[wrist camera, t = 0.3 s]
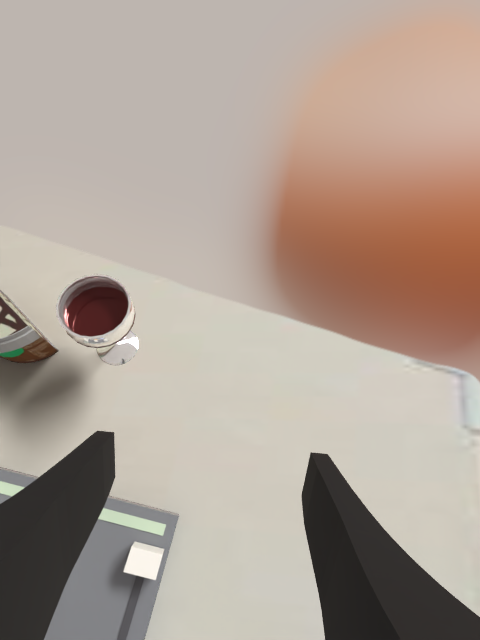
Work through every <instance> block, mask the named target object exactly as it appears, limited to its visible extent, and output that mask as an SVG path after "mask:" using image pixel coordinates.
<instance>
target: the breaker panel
mask: <svg viewBox="0 0 480 640" xmlns="http://www.w3.org/2000/svg"><path fill="white" fill-rule="evenodd" d="M37 478H39V477H36V476H32V475H28V474H24V473H21V472H17V471H13V470H9V469H6V468H2V467H0V504H1V503H3V502H4V501H6V500H7V499H9V498H10V497H12V496H13V495H15V494H16V493H18V492H19V491H21V490H22V489H24V488H25V487H26V486H28V485H29V484H31V483H32V482H33V481H35V480H36V479H37ZM178 517H179V514H176V513H172V512H168V511H165V510H161V509H157V508H153V507H149V506H146V505H142V504H138V503H134V502H130V501H127V500H123V499H119V498H115V497H112V496H108V498H107V501H106V503H105V506H104V508H103V510H102V512H101V514H100V516H99V518H98V520H97V522H96V524H95V526H94V528H93V530H92V532H91V534H90V536H89V538H88V540H87V542H86V544H85V546H84V548H83V550H82V552H81V554H80V556H79V558H78V560H77V562H76V564H75V566H74V568H73V570H72V572H71V574H70V576H69V578H68V581H67V583H66V585H65V587H64V590H63V592H62V595H61V597H60V600H59V602H58V605H57V607H56V610H55V612H54V615H53V617H52V620H51V622H50V625H49V628H48V630H47V633H46V635H45V638H44V640H144V639H145V636H146V632H147V629H148V625H149V621H150V618H151V614H152V611H153V607H154V603H155V600H156V596H157V593H158V589H159V585H160V582H161V578H162V575H163V571H164V567H165V564H166V560H167V557H168V553H169V549H170V546H171V542H172V539H173V535H174V531H175V528H176V524H177V521H178ZM135 541H136V542H140V543H143V544H147V545H151V546H155V547H159V548H163V549H164V552H163V556H162V559H161V563H160V566H159V570H158V573H157V577H156V580H152V579H149V578H145V577H141V576H137V575H133V574H129V573H125V572H123V571H124V568H125V565H126V562H127V559H128V556H129V553H130V549H131V546H132V545H133V544H134V542H135Z"/></svg>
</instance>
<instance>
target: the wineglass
mask: <svg viewBox="0 0 480 640" xmlns="http://www.w3.org/2000/svg"><path fill="white" fill-rule="evenodd" d="M56 315H57V318H58V320H59V322H60V324H61V326H62V327H63V328H64V329H65V330H66V332H67V334H68V335H69V336H70V337H72V338H73V339H74V340H75V341H76V342H77V343H80V344H82V345H84V346H87V347H94V348H97V352H98V354H99V356H100V358H101V359H102V360H103V361H104V362H106V363H109V364H112V365H120V364H124V363H126V362H128V361H130V360H131V359H132V358H133V357H134V356H135V354H136V352H137V350H138V339H137V337H136V335H135V334H134V333H133V332H132V331H131V328H132V326H133V324H134V319H135V310H134V305H133V302H132V300H131V298H130V294H129V293H128V291H127V289H126V287H125V286H124V285H123V284H122V283H121V282H119V281H118V280H117V279H115V278H112V277H110V276H108V275H100V274H93V275H86V276H83V277H81V278H78V279H76V280H74V281H73V282H71V283H70V284H69V285H67V286H66V287H65V288H64V290H63V291H62V292H61V294H60V295H59V298H58V301H57V304H56Z"/></svg>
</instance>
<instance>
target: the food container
mask: <svg viewBox="0 0 480 640" xmlns="http://www.w3.org/2000/svg"><path fill="white" fill-rule="evenodd" d="M57 351H58V350H57V349H56V348H55V347H54V346H53V345H52V343H51V342H50V341H49V340H48V339H47V338H46V337H45V336H44V335H43V334H42V333H41V332H40V331H39V329H38V328H37V327H36V326H35V325H34V324H33V323H32V322H31V321H30V320H29V319H28V318H27V317H26V316H25V314H24V313H23V312H22V311H21V310H20V309H19V308H18V307H17V306H16V305H15V304H14V303H13V302H12V301H11V300H10V299H9V298H8V297H7V296H6V295H5V294H4V293H3V292H2V291H1V290H0V357H2V358H5V359H7V360H10V361H13V362H18V363H31V362H36V361H40V360H43V359H46V358H48V357H50V356H52V355H53V354H55V353H56V352H57Z"/></svg>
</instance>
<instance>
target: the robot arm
mask: <svg viewBox="0 0 480 640" xmlns="http://www.w3.org/2000/svg"><path fill="white" fill-rule="evenodd" d="M114 479H115V450H114V432H104V431H96V432H95V433H94V434H93V435H91V436H90V437H89V438H88V439H86V440H85V441H84V442H83V443H82V444H80V445H79V446H78V447H77V448H76V449H74V450H73V451H72V452H71V453H70V454H68V455H67V456H66V457H65V458H63V459H62V460H61V461H60V462H58V463H57V464H56V465H55V466H53V467H52V468H51V469H49V470H48V471H47V472H46V473H44V474H43V475H42V476H40V477H39V478H37V479H36V480H35V481H33V482H32V483H31V484H29V485H28V486H26V487H25V488H24V489H22V490H21V491H19V492H18V493H16V494H15V495H13V496H12V497H10V498H9V499H7V500H6V501H4V502H3V503H1V504H0V640H44V638H45V635H46V633H47V630H48V628H49V625H50V622H51V620H52V617H53V615H54V612H55V610H56V607H57V605H58V602H59V600H60V597H61V595H62V592H63V590H64V587H65V585H66V583H67V581H68V578H69V576H70V574H71V572H72V570H73V568H74V566H75V564H76V562H77V560H78V558H79V556H80V554H81V552H82V550H83V548H84V546H85V544H86V542H87V540H88V538H89V536H90V534H91V532H92V530H93V528H94V526H95V524H96V522H97V520H98V518H99V516H100V514H101V512H102V510H103V508H104V506H105V503H106V501H107V498H108V495H109V493H110V490H111V487H112V484H113V481H114ZM302 506H303V516H304V525H305V530H306V535H307V540H308V545H309V550H310V554H311V559H312V564H313V569H314V573H315V578H316V583H317V587H318V592H319V598H320V603H321V609H322V617H323V625H324V633H325V640H480V617H479V616H477V615H476V614H475V613H474V612H472V611H471V610H470V609H469V608H467V607H466V606H465V605H464V604H463V603H461V602H460V601H459V600H458V599H456V598H455V597H454V596H453V595H452V594H450V593H449V592H448V591H447V590H446V589H445V588H443V587H442V586H441V585H440V584H439V583H438V582H437V581H435V580H434V579H433V578H432V577H431V576H430V575H429V574H428V573H427V572H426V571H425V570H424V569H422V568H421V567H420V566H419V565H418V564H417V563H416V562H415V561H414V560H413V559H412V558H411V557H410V556H409V555H408V554H407V553H406V552H405V551H404V550H403V549H402V548H401V547H400V546H399V545H398V544H397V543H396V542H395V541H394V540H393V539H392V537H391V536H390V535H389V534H388V533H387V532H386V531H385V530H384V529H383V527H382V526H381V525H380V524H379V523H378V521H377V520H376V519H375V518H374V517H373V516H372V514H371V513H370V512H369V511H368V509H367V508H366V507H365V505H364V504H363V503H362V502H361V500H360V499H359V498H358V496H357V495H356V494H355V492H354V491H353V490H352V488H351V487H350V485H349V484H348V483H347V481H346V480H345V478H344V477H343V476H342V474H341V473H340V471H339V470H338V468H337V467H336V465H335V464H334V463H333V461H332V460H331V458H330V457H329V456H328V454H320V453H311V454H310V459H309V463H308V468H307V473H306V477H305V482H304V486H303V491H302Z"/></svg>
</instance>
